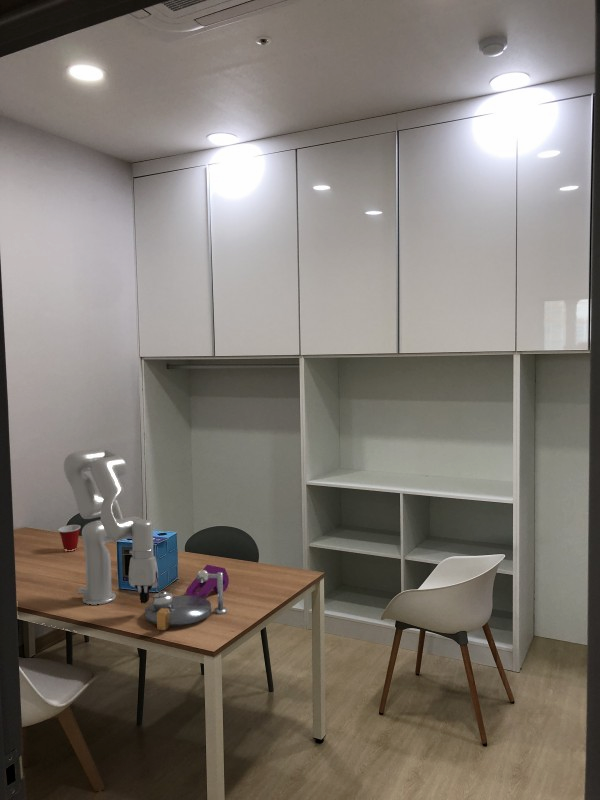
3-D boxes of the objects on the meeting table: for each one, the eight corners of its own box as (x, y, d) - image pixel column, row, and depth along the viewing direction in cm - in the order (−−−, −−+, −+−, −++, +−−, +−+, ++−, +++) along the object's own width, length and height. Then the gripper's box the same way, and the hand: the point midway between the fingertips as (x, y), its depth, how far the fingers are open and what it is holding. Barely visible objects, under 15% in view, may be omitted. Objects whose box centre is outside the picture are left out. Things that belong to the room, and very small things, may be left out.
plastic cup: (54, 551, 323) (53, 528, 323) (73, 546, 332) (72, 523, 331) (66, 555, 317) (65, 531, 316) (85, 550, 326) (85, 526, 325)
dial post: (196, 612, 241) (195, 571, 240) (201, 607, 246) (200, 567, 245) (224, 614, 239) (224, 573, 238) (229, 609, 244) (228, 568, 243)
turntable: (129, 627, 225) (128, 610, 225) (161, 598, 252) (160, 583, 251) (194, 632, 220) (193, 614, 220) (219, 602, 247) (219, 587, 247)
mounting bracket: (206, 615, 254) (230, 583, 267) (199, 599, 250) (225, 568, 264) (187, 610, 259) (213, 579, 272) (181, 595, 255) (207, 564, 268)
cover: (150, 609, 236) (149, 595, 236) (158, 602, 243) (157, 588, 243) (168, 610, 235) (167, 596, 234) (175, 603, 241) (175, 589, 241)
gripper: (119, 555, 237) (121, 604, 238) (157, 557, 234) (159, 607, 235) (129, 550, 244) (130, 597, 245) (165, 551, 241) (167, 599, 242)
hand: (144, 601), depth 240 cm, fingers closed
